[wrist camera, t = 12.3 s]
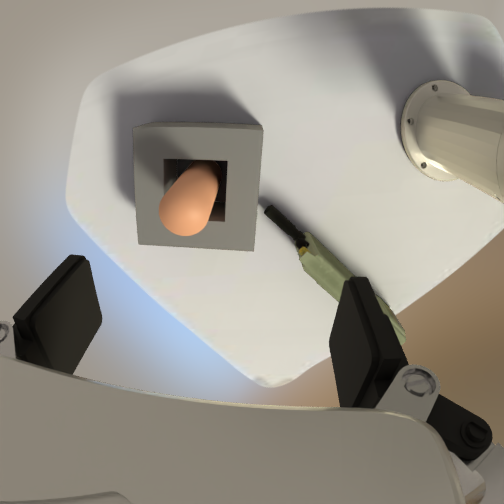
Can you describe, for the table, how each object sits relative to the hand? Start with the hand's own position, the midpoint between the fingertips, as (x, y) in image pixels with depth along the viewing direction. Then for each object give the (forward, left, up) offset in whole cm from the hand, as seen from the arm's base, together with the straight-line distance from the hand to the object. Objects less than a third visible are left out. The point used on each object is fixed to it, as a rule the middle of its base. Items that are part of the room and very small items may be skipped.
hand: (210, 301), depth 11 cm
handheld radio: (-13, +13, -26) cm, 32 cm away
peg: (+4, +2, -26) cm, 26 cm away
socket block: (+4, +2, -26) cm, 26 cm away
